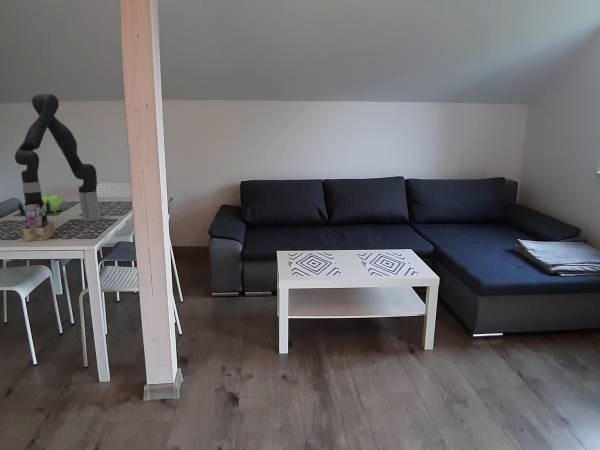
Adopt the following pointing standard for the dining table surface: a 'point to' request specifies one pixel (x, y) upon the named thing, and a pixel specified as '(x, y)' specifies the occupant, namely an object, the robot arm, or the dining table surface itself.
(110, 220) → the dining table surface
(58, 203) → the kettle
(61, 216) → the dining table surface
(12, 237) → the dining table surface
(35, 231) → the crate
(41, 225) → the candy bar box
